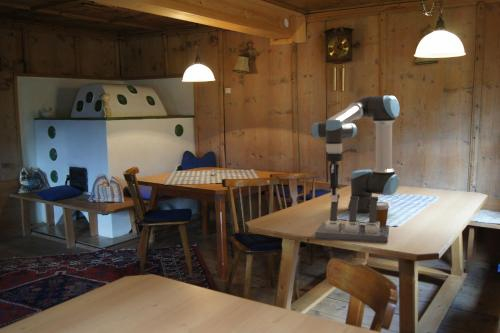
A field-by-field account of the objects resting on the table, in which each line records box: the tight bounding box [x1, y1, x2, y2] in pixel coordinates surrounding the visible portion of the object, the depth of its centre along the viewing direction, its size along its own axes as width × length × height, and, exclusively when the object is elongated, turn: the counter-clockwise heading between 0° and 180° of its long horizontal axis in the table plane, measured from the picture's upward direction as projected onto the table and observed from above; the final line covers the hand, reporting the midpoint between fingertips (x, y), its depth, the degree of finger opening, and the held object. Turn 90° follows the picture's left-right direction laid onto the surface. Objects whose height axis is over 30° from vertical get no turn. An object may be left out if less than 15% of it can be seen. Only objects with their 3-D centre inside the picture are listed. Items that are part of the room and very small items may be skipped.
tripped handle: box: [329, 193, 340, 221], centre depth 227 cm, size 2×4×13 cm, turn 72°
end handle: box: [368, 196, 379, 223], centre depth 222 cm, size 2×4×13 cm
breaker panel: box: [314, 218, 390, 244], centre depth 223 cm, size 18×32×6 cm, turn 71°
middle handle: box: [348, 195, 359, 222], centre depth 225 cm, size 2×4×13 cm
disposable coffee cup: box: [376, 201, 390, 226], centre depth 235 cm, size 10×10×12 cm
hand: (334, 201), depth 227 cm, fingers closed
